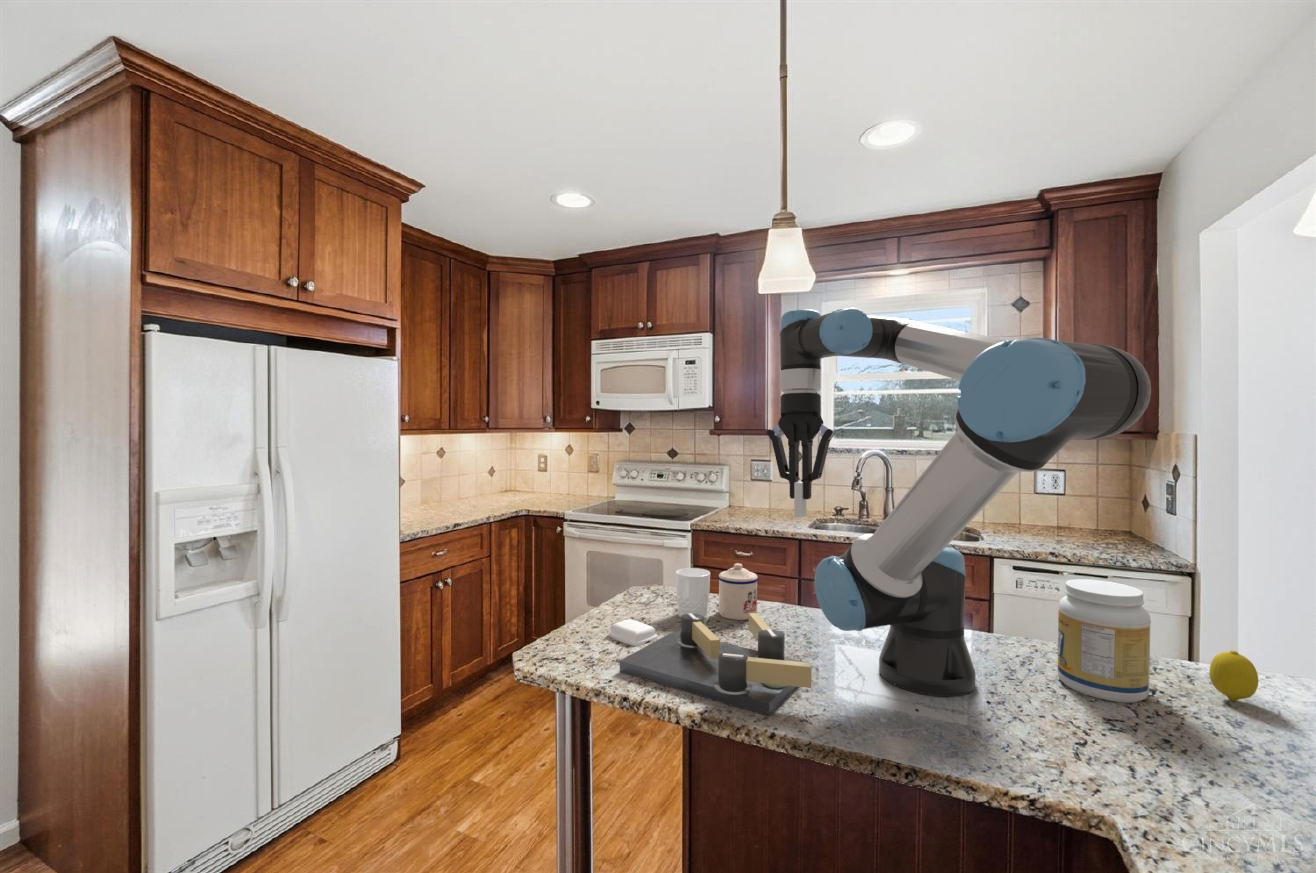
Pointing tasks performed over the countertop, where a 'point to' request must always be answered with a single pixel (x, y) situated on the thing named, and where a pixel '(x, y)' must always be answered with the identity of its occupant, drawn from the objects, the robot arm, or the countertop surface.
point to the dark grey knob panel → (700, 673)
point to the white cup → (692, 591)
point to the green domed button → (774, 685)
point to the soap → (632, 632)
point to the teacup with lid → (737, 593)
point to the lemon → (1233, 675)
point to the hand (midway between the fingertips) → (800, 516)
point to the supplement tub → (1104, 640)
